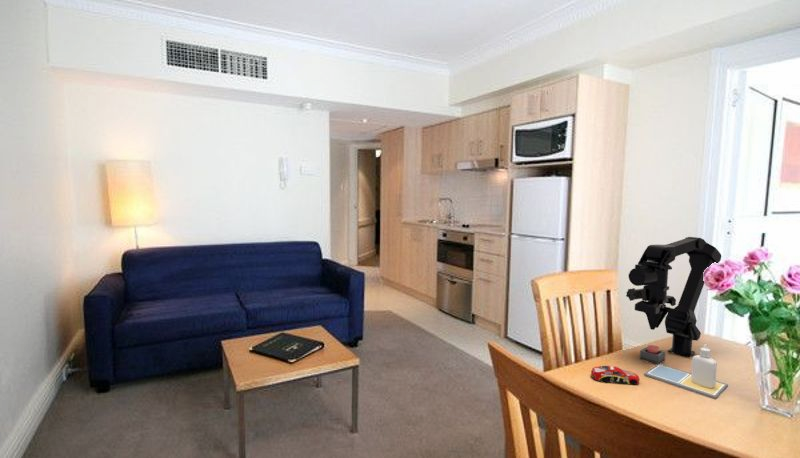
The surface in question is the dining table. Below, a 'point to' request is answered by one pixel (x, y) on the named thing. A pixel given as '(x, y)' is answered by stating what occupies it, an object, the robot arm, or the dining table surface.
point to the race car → (614, 375)
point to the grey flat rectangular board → (683, 380)
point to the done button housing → (652, 356)
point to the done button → (652, 349)
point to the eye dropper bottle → (704, 369)
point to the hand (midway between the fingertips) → (654, 328)
